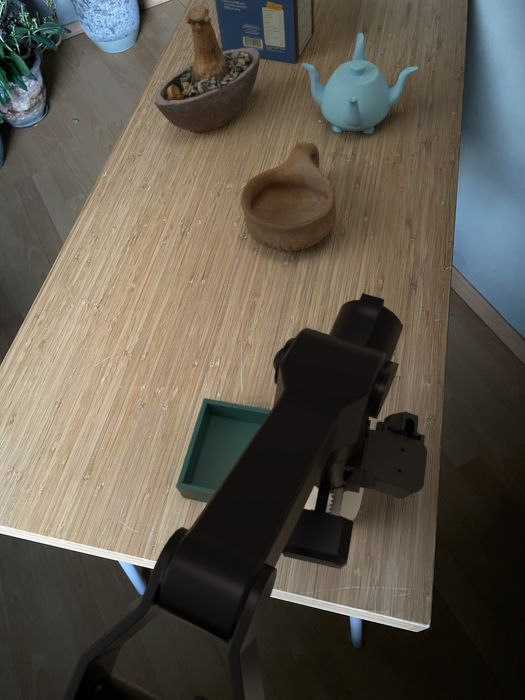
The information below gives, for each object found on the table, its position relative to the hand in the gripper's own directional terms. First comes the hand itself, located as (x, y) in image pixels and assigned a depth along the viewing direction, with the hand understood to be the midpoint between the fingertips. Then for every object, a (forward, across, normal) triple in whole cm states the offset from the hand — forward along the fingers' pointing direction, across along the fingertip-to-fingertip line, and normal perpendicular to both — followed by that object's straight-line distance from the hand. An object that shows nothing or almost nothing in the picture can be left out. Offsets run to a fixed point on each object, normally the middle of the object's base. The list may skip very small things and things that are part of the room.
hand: (329, 488), depth 63 cm
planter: (+5, +62, +31) cm, 70 cm away
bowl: (+5, +41, +13) cm, 44 cm away
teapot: (+5, +65, +7) cm, 66 cm away
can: (+5, 0, 0) cm, 5 cm away
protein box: (+5, +85, +27) cm, 90 cm away
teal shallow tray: (+4, +2, +11) cm, 12 cm away
